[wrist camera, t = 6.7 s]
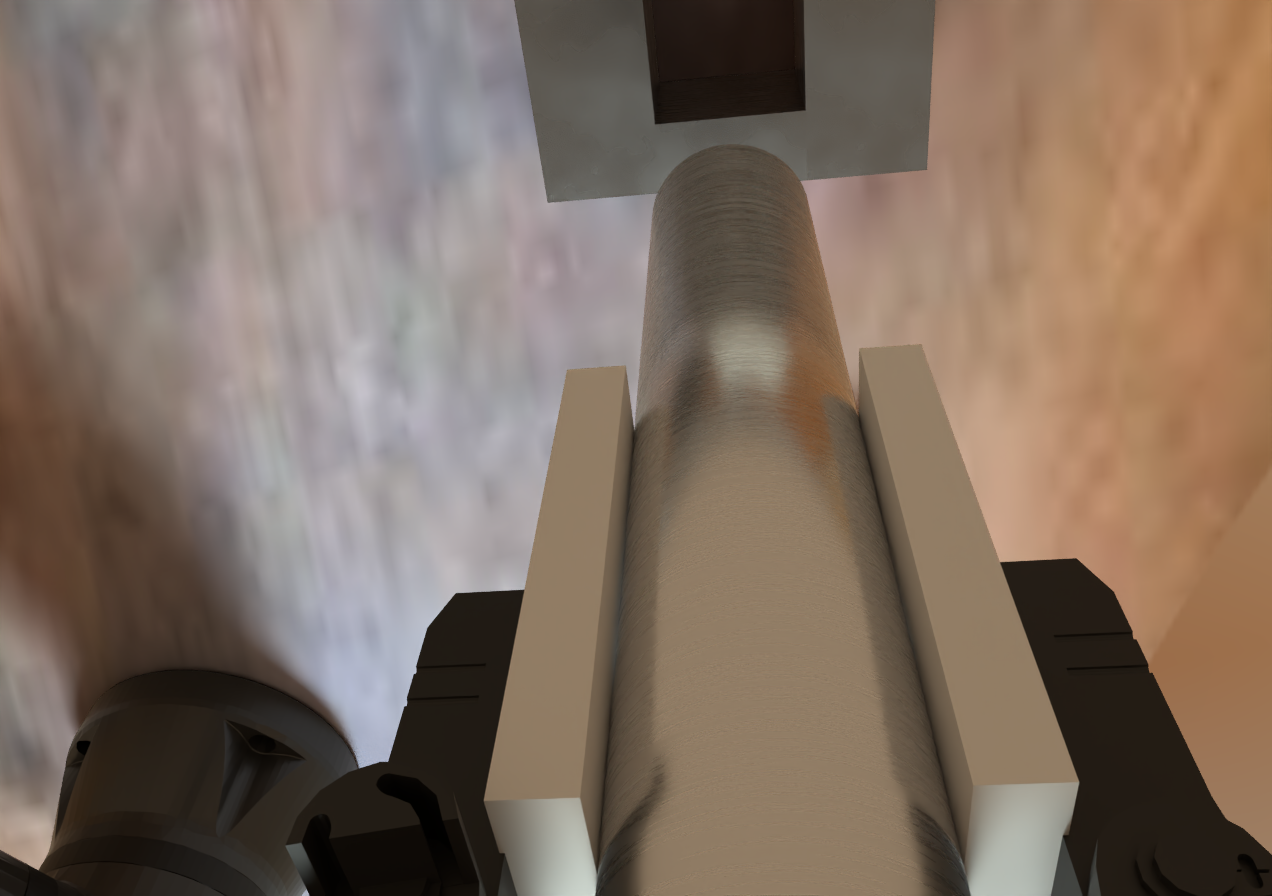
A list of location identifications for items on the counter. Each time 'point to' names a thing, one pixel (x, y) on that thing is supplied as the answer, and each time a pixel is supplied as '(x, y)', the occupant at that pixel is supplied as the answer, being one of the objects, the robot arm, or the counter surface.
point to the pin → (759, 582)
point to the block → (724, 95)
